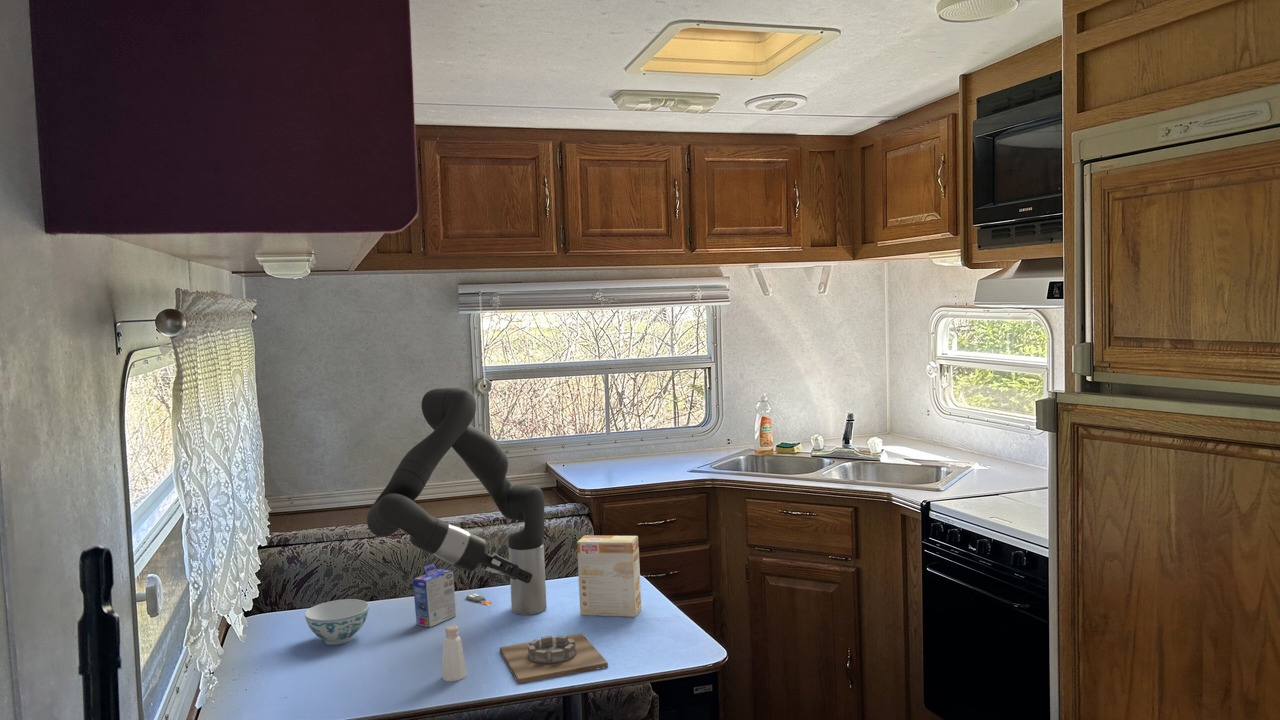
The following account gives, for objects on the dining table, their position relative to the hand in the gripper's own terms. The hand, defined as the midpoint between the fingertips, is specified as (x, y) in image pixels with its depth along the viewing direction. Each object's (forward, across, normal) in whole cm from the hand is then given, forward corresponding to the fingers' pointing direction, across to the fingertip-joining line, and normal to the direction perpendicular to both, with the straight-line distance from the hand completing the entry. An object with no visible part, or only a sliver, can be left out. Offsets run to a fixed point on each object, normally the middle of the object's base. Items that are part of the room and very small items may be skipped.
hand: (523, 577), depth 194 cm
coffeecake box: (+36, +27, -3) cm, 45 cm away
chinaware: (-20, +48, +30) cm, 59 cm away
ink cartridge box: (+1, +47, +16) cm, 50 cm away
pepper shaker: (-2, +9, +25) cm, 27 cm away
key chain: (+13, +54, +8) cm, 56 cm away
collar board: (+17, +6, +13) cm, 22 cm away
